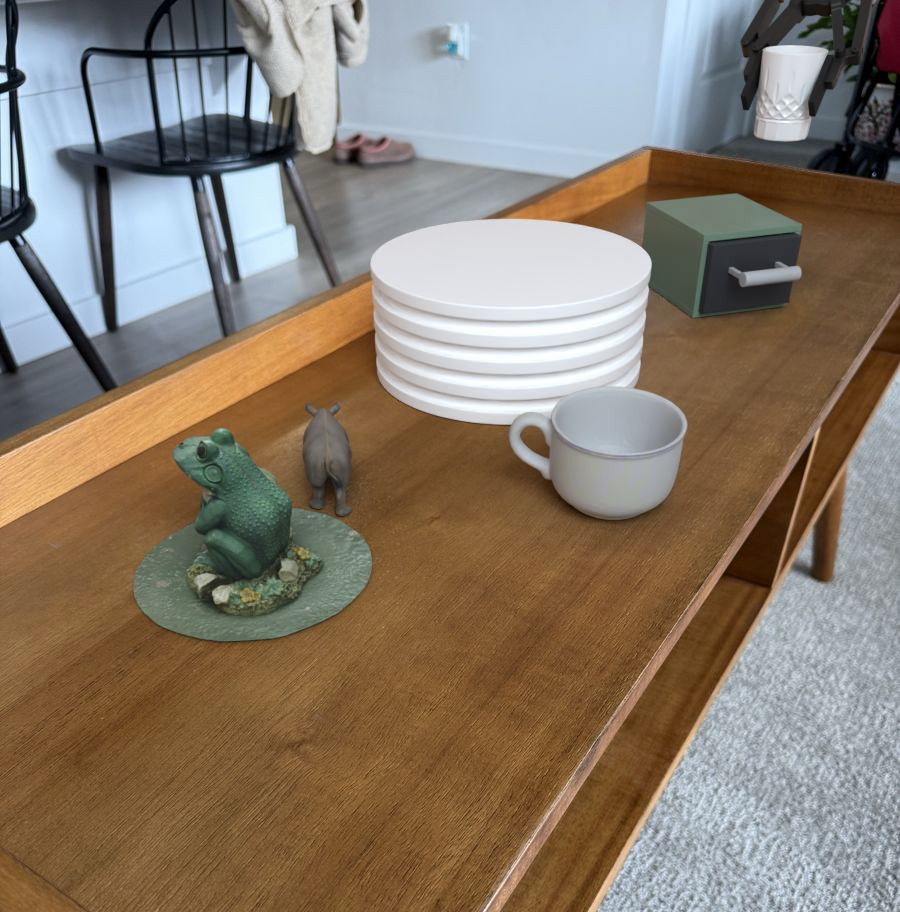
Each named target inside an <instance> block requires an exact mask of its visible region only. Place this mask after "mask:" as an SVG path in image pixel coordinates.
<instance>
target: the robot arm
mask: <svg viewBox="0 0 900 912" xmlns="http://www.w3.org/2000/svg"><path fill="white" fill-rule="evenodd" d="M852 1H853V0H789V2H788V5H787V6H785V8H784V9H783V11H782V12H781V13H780V14H779V15H778V16H777V17H776V15H777V13H778V12H779V9H780V7H781V4H783V3H785V2H786V0H763V2H762V4H761V6H760V7H759V9H758V10H757V11H756V14H755V15H754V17H753V19H752V20H751V22H750V24H749V26H748V28H747V29H746V30H745V32H744V34H742V35H743V36H742V37H741V39H740V48H741V53H742V57H743V58H745V59H747V62H746V65H745V66H744V69H743V79H744V85H743V88H742V91H741V94H740V100H741V105H742V110H743V111H750V109H751V106H752V104H753V102H754V99H755V97H756V94H757V93H758V85H759V77H760V69H761V60H762V52H763V49H764V48H766V47H770V46H779V44H780V43H781V42H782V41H783V39H785V37H786V36H787V35H788V34H789V33H790V32H791V31H792V29H793V28H794V27H795V26H796V25H797V24H798V25H799V24H801V23H802V22H803V21H804V19H806V17H815V16H819V17H822V18H830V16H831V28H832V41H833V54H828V55H827V56H826V58H825V61H824V63H823V66H822V68H821V71H820V73H819V75H818V78H817V80H816V83H815V85H814V88H813V90H812V93H811V95H810V98H809V100H808V108H809V116H812V117H811V118H813V117H814V118H816V116H817V114H818V112H819V109H820V106H821V105H822V102H823V99H824V96H825V94H826V93H827V90H829V91H833V90H834V89H835V88H836V87H837V84H838V82H839V79H840V76H841V74H842V72H843V70H844V68H845V67H847V66H849V65H852V66H855V67H856V66H859V65H861V64H862V62H863V59H864V54H865V49H866V46H867V40H868V39H867V38H868V34H869V30H870V25H871V20H872V16H873V12H874V10H875V8H876V7H877V5H878V4H879V2H880V0H859V8H858V9H859V10H858V14H857V19H856V22H855V23H856V24H855V29H854V33H853V37H852V42H851V47H847V48H846V45H845V35H844V32H845V31H844V23H843V22H844V19H843V8H844V7H846V6H847V5H848V4H849V3H850V2H852ZM775 17H776V19H774V18H775Z"/></svg>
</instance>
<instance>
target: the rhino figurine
mask: <svg viewBox="0 0 900 912" xmlns="http://www.w3.org/2000/svg"><path fill="white" fill-rule="evenodd" d="M340 405H341V404H340V402H335V403H333V404H332V406H331V407H330V408H329V409H327V408H324V407H322V408H319V409H316V408H315V407H314V406H313V405H312V404H310V403H309V402H306V403H305V405H304V410H305V411H306V413H308V414H309V415H311V416H312V418H311V420H310V421H309V423H308V424H307V426H306V427H305V430H304V433H303V437H302V452H301V453H302V454H301V455H302V460H303V463H304V471H305V474H306V478H307V480H308V482H309V483H310V485H311V487H312V498H311V499H310V500H309V502H308V506H309V507H310V508H312V509H314V510H321V509H324V507H325V506H326V498H325V497H324V495H325V490H326V489H325V488H326V482H327V480H328V478H329V479H330V482H331V484H332V487H333V489H334V500H335V507H334V512H335V515H336V516H337V517H345V516H348V515H349V514H351V513H352V512H353V509H352V507H351V506H350V505H348V504H347V495H348V494H347V493H348V486H349V482H350V480H351V476H352V472H353V471H352V470H353V469H352V468H353V465H352V457H353V452H352V448H351V445H350V439H349V436H348V433H347V431H346V428H345V427H344V426H343V424H341V423H340V422H339V421H338V420H337V418H336V417H334V416H335V415H336V414H337V413H338V412H340V410H341V406H340Z"/></svg>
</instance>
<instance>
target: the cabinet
mask: <svg viewBox="0 0 900 912" xmlns="http://www.w3.org/2000/svg"><path fill="white" fill-rule="evenodd" d="M802 228H803V224H802V223H800V222H798V221H796V220H794V219H791V218H790V217H787V216H786V215H783V214H782V213H779V212H777V211H775V210H773V209H770V207H769V208H768V207H766V206H765V205H762V204H760V203H758V202H757V201H754V200H752V199H750V198H748V197H746V196H744V195H742V194H740V193H727V194H716V195H715V194H714V195H706V196H705V195H704V196H696V197H684V198H675V199H665V200H664V199H663V200H655V201H647V202H646V206H645V216H644V226H643V235H642V245H641V247H642V248H643V249H644V250H645V251H646V252H647V253H648V255H649V257H650V259H651V262H652V267H651V276H650V281H649V283H648V287H649V289H651V290H653V291H654V292H655V293H657V294H658V295H660V296H661V297H662V298H664V299H665V300H666V301H668V302H670V303H671V304H672V305H674V306H675V307H676V308H678V309H679V310H680V311H682V312H684V314H686V315H687V316H689V317H691V318H692V319H695V318H696V319H697V318H703V317H705V318H706V317H712V316H721V315H726V314H728V315H729V314H735V313H743V312H749V311H750V312H751V311H759V310H766V309H773V308H774V309H775V308H782V307H787V303H782V304H774V305H766V306H759V307H751V308H743V309H735V310H728V311H720V312H712V313H704V314H703V313H702V312H700V311H699V303H700V296H701V289H702V283H703V276H704V269H705V262H706V255H707V248H708V243H709V242H710V241H719V240H728V239H737V238H746V237H755V236H764V235H773V234H782V233H784V235H785V234H794V233H797V234H799V235H801V232H802Z"/></svg>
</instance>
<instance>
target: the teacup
mask: <svg viewBox="0 0 900 912" xmlns="http://www.w3.org/2000/svg"><path fill="white" fill-rule="evenodd" d="M528 427H532V428H533V427H534V428H537V429H539V431H540V432H541V433H542V434H543V436H544V440H545V443H546V445H547V446H548V447H549V458H548V457H545V456H542V455H540V454H538V453H536V452H535V451H533V450H532V449H530V448H529V447H528V446H527V445H526V444H525V443H524V442H523V440H522V437H521V434H522V431H523V430H524V429H525V428H528ZM687 430H688V420H687V417H686V415H685V413H684V412H683V411H682V409H680V407H679V406H678V405H676V404H675V403H673V402H672V401H671V400H670V399H667V398H665V397H663V396H660V395H658V394H656V393H654V392H650V391H648V390H643V389H639V388H635V387H634V388H628V387H617V386H610V387H593V388H588V389H583V390H580V391H576V392H574V393H571V394H569V395H567V396H566V397H564V398H562V399H561V400H560V401H559V402H558V403H557V404H556V405H555V407H554V409H553V410H552V414H551V419H549V418H548V417H546V416H545V415H543V414H541V413H537V412H526V413H523V414H521V415H519V416H518V417H517V418H516V419H515V420H514V421H513V423H512V424H511V425H509V429H508V442H509V446H510V448H511V449H512V451H513V453H514V455H515V456H516V457H518V458H519V460H521V461H522V462H524V463H525V464H527V465H529V466H530V467H532V468H534V469H535V470H537V471H538V472H540V473H541V475H542V477H543V478H544V479H545V480H547V481H551V482H552V485H553V487H554V489H555V490H556V491H555V492H557V494H558V495H559V496H560V498H561V499H562V500H564V501H565V502H566V503H568V504H569V505H570V506H572V507H573V508H574V509H576V510H577V511H579V512H581V514H582V513H583V514H584V515H587V516H589V517H593V518H595V519H601V520H608V521H620V520H621V521H622V520H626V519H631V518H635V517H637V516H639V515H642V514H644V513H647V512H649V511H651V510H653V509H655V508H657V507H658V506H659V505H660V504H661V503H662V502H664V501H665V500H666V498H667V497H668V496H669V495H670V493H671V491H672V490H673V487H674V484H675V482H676V479H677V476H678V475H677V474H678V471H679V466H680V462H681V457H682V451H683V444H684V438H685V436H686V433H687Z"/></svg>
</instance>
